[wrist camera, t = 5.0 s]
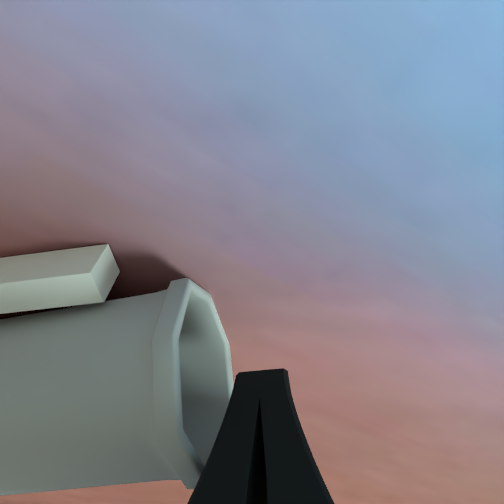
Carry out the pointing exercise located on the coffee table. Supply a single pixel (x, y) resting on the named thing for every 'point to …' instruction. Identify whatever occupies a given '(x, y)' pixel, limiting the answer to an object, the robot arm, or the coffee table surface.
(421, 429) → the coffee table surface
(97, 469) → the tube
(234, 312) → the coffee table surface
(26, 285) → the rails
